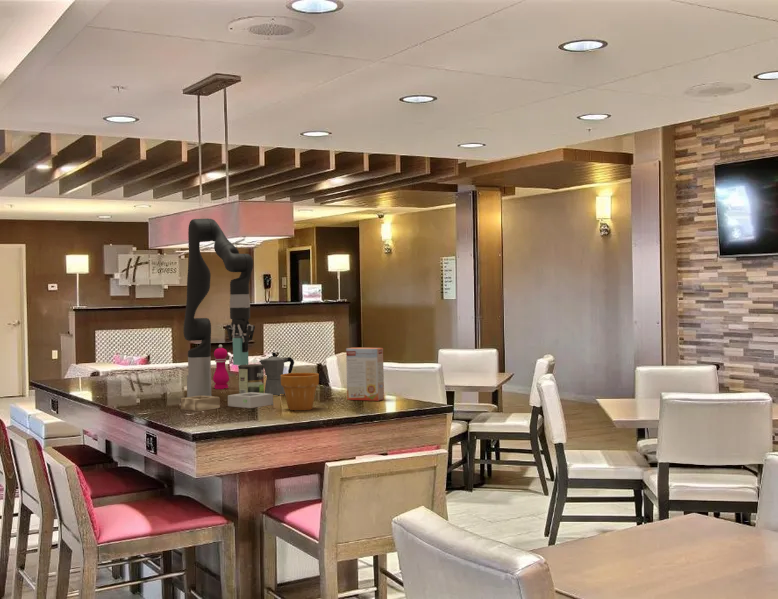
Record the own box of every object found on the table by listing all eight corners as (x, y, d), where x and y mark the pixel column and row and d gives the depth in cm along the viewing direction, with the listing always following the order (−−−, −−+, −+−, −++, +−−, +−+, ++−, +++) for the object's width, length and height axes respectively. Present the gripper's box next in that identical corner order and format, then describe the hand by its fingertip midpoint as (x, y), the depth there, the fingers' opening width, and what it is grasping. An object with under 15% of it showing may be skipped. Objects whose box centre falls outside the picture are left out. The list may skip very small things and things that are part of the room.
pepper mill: (232, 387, 415) (231, 344, 415) (224, 389, 409) (223, 345, 408) (218, 387, 418) (217, 343, 417) (210, 389, 411) (209, 345, 411)
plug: (233, 364, 343) (232, 336, 343) (241, 363, 346) (240, 335, 346) (240, 365, 340) (239, 336, 340) (248, 364, 344) (247, 335, 343)
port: (227, 408, 344) (226, 395, 344) (251, 405, 353) (250, 392, 353) (249, 410, 336) (249, 397, 336) (273, 407, 346) (273, 393, 346)
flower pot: (303, 412, 329) (303, 376, 329) (273, 410, 337) (272, 375, 337) (326, 408, 341) (326, 373, 341) (296, 405, 349) (296, 372, 349)
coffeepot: (262, 396, 379) (261, 353, 379) (256, 394, 388) (255, 352, 388) (298, 394, 385) (297, 352, 385) (291, 392, 394) (290, 350, 394)
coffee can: (267, 398, 374) (267, 364, 374) (259, 401, 364) (258, 366, 364) (244, 398, 376) (243, 363, 376) (234, 401, 366) (234, 366, 366)
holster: (181, 411, 337) (180, 398, 337) (201, 408, 345) (201, 395, 345) (199, 413, 331) (198, 399, 331) (219, 410, 339) (219, 396, 339)
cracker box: (384, 399, 364) (383, 347, 363) (378, 401, 358) (377, 348, 358) (353, 398, 370) (352, 346, 369) (346, 400, 364) (345, 347, 364)
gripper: (219, 306, 345) (220, 352, 345) (245, 306, 336) (246, 353, 336) (234, 306, 350) (235, 350, 351) (260, 306, 342) (261, 351, 342)
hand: (240, 351), depth 343 cm, fingers closed on plug, 4 cm apart
